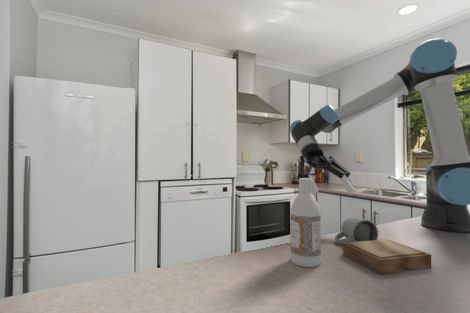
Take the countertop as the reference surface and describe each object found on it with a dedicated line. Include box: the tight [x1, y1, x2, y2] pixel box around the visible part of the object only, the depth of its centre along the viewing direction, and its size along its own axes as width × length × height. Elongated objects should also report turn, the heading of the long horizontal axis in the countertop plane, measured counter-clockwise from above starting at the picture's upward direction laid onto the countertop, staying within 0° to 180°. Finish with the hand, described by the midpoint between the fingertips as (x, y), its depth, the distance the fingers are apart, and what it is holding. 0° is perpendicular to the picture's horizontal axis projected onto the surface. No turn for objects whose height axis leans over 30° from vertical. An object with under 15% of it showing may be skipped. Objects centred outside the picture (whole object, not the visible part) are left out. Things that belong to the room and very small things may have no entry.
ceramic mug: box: [334, 216, 379, 246], centre depth 76 cm, size 11×8×8 cm
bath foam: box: [290, 178, 322, 268], centre depth 61 cm, size 7×7×20 cm
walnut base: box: [342, 238, 432, 276], centre depth 62 cm, size 14×12×3 cm
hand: (334, 192), depth 85 cm, fingers open, 13 cm apart
